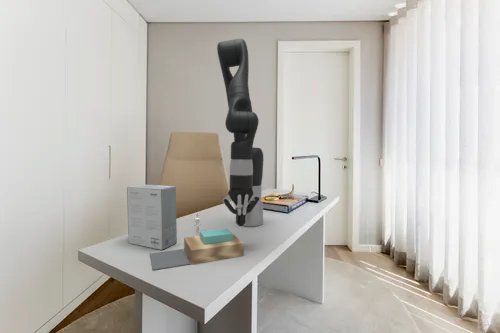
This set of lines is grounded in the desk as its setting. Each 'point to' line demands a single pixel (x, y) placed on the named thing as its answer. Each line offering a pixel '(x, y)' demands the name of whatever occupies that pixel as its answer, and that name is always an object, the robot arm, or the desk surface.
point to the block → (216, 236)
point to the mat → (168, 259)
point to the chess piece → (197, 225)
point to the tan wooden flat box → (212, 249)
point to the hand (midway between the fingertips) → (240, 225)
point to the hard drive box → (152, 215)
